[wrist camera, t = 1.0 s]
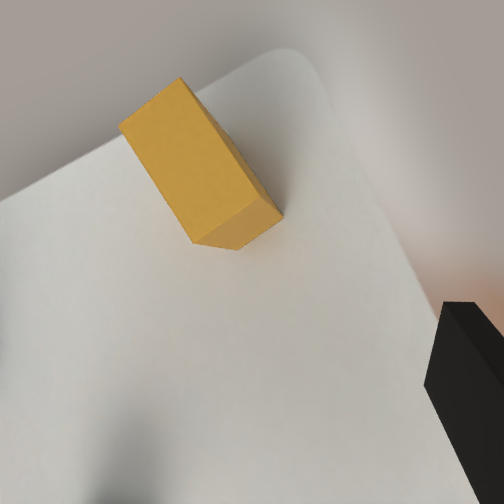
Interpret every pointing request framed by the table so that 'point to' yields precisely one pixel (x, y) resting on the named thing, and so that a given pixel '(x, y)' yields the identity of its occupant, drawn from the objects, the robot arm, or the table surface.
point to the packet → (199, 170)
